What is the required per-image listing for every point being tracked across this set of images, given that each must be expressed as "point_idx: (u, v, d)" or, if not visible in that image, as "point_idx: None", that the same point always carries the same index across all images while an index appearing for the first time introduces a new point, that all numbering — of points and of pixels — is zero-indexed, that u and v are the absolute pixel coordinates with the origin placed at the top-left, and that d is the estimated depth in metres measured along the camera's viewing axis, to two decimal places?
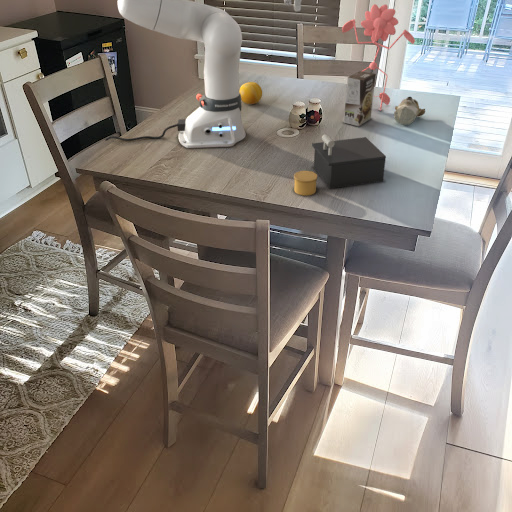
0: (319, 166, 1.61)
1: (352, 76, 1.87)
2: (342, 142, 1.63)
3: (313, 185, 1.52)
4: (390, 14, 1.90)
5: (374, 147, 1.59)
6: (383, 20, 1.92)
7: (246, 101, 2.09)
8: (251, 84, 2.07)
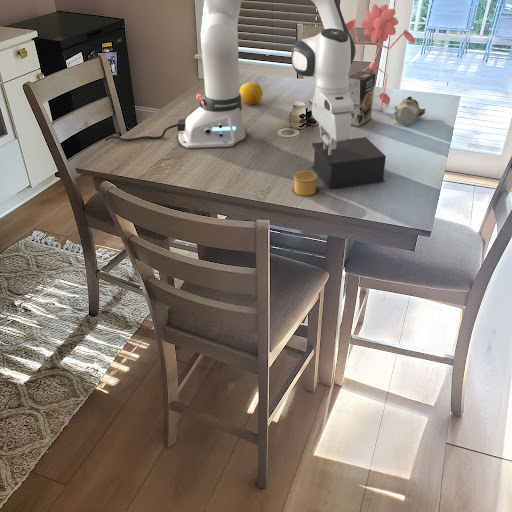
0: (319, 166, 1.61)
1: (352, 76, 1.87)
2: (342, 141, 1.63)
3: (313, 185, 1.52)
4: (390, 14, 1.90)
5: (374, 147, 1.59)
6: (383, 20, 1.92)
7: (246, 101, 2.09)
8: (251, 84, 2.07)
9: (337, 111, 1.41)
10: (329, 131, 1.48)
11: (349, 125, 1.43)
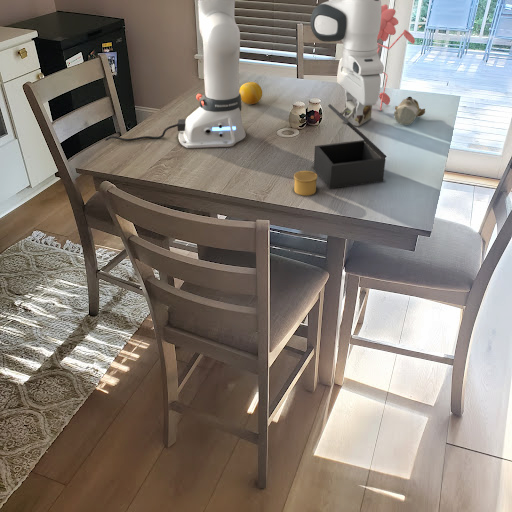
0: (319, 166, 1.61)
1: None
2: (351, 123, 1.60)
3: (313, 185, 1.52)
4: (390, 14, 1.90)
5: (376, 146, 1.59)
6: (383, 20, 1.92)
7: (246, 101, 2.09)
8: (251, 84, 2.07)
9: (366, 73, 1.37)
10: (357, 95, 1.44)
11: (378, 88, 1.39)
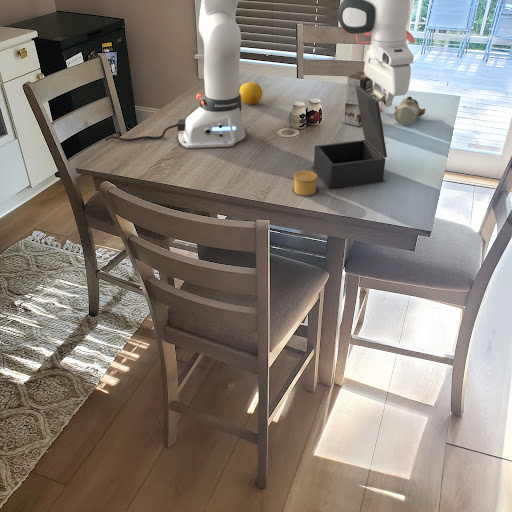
0: (319, 166, 1.61)
1: (352, 76, 1.87)
2: None
3: (313, 185, 1.52)
4: None
5: None
6: None
7: (246, 101, 2.09)
8: (251, 84, 2.07)
9: (397, 63, 1.38)
10: (386, 86, 1.45)
11: (408, 78, 1.40)
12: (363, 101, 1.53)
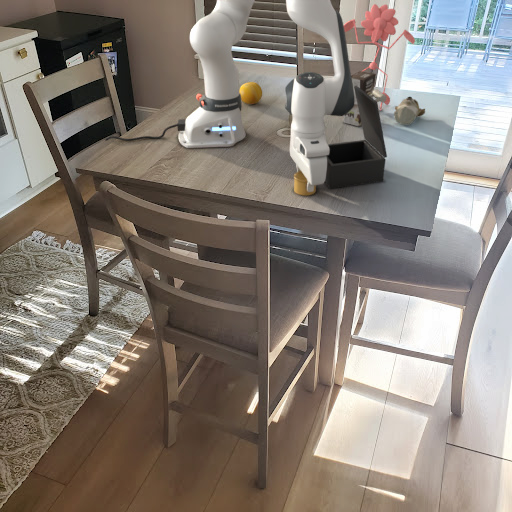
0: None
1: (352, 76, 1.87)
2: None
3: None
4: (390, 14, 1.90)
5: None
6: (383, 20, 1.92)
7: (246, 101, 2.09)
8: (251, 84, 2.07)
9: (312, 156, 1.40)
10: (305, 174, 1.46)
11: (325, 169, 1.41)
12: (362, 101, 1.53)
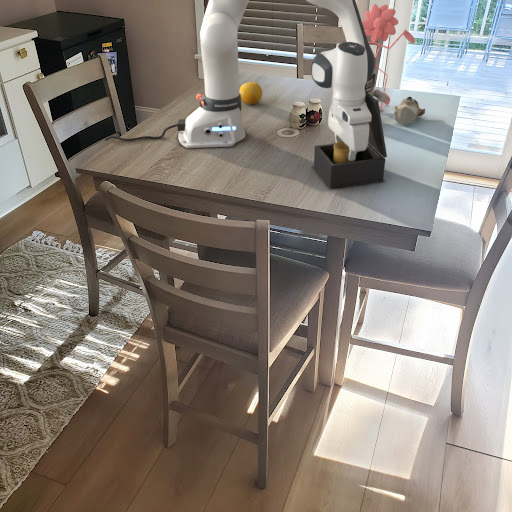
0: (319, 166, 1.61)
1: None
2: None
3: None
4: (390, 14, 1.90)
5: None
6: (383, 20, 1.92)
7: (246, 101, 2.09)
8: (251, 84, 2.07)
9: (355, 122, 1.44)
10: (347, 142, 1.51)
11: (367, 135, 1.46)
12: None
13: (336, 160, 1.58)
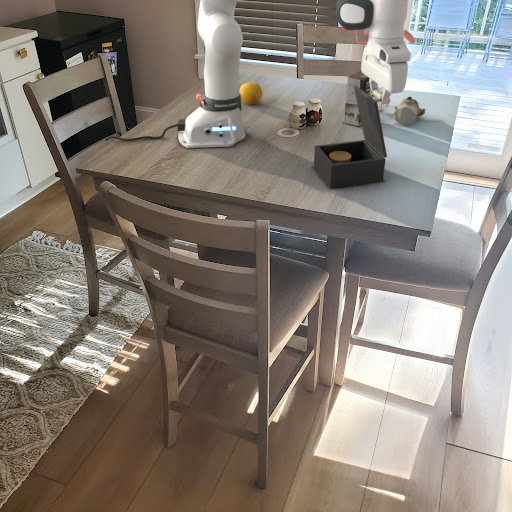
0: (319, 166, 1.61)
1: (352, 76, 1.87)
2: None
3: None
4: None
5: None
6: None
7: (246, 101, 2.09)
8: (251, 84, 2.07)
9: (394, 61, 1.37)
10: (383, 83, 1.44)
11: (405, 75, 1.39)
12: (362, 101, 1.53)
13: None
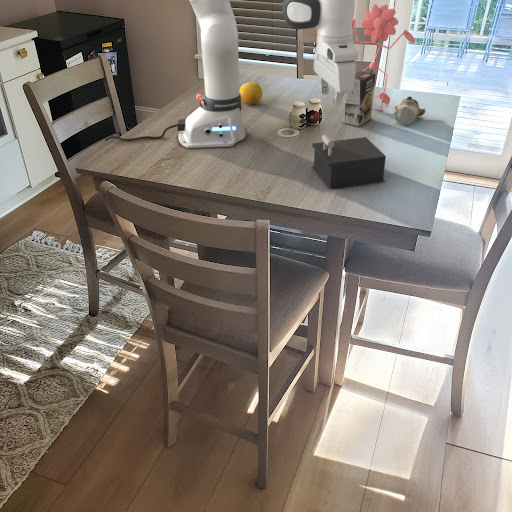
0: (319, 166, 1.61)
1: None
2: (342, 142, 1.63)
3: None
4: (390, 14, 1.90)
5: (374, 147, 1.59)
6: (383, 20, 1.92)
7: (246, 101, 2.09)
8: (251, 84, 2.07)
9: (341, 60, 1.34)
10: (332, 83, 1.41)
11: (353, 75, 1.36)
12: None
13: None
